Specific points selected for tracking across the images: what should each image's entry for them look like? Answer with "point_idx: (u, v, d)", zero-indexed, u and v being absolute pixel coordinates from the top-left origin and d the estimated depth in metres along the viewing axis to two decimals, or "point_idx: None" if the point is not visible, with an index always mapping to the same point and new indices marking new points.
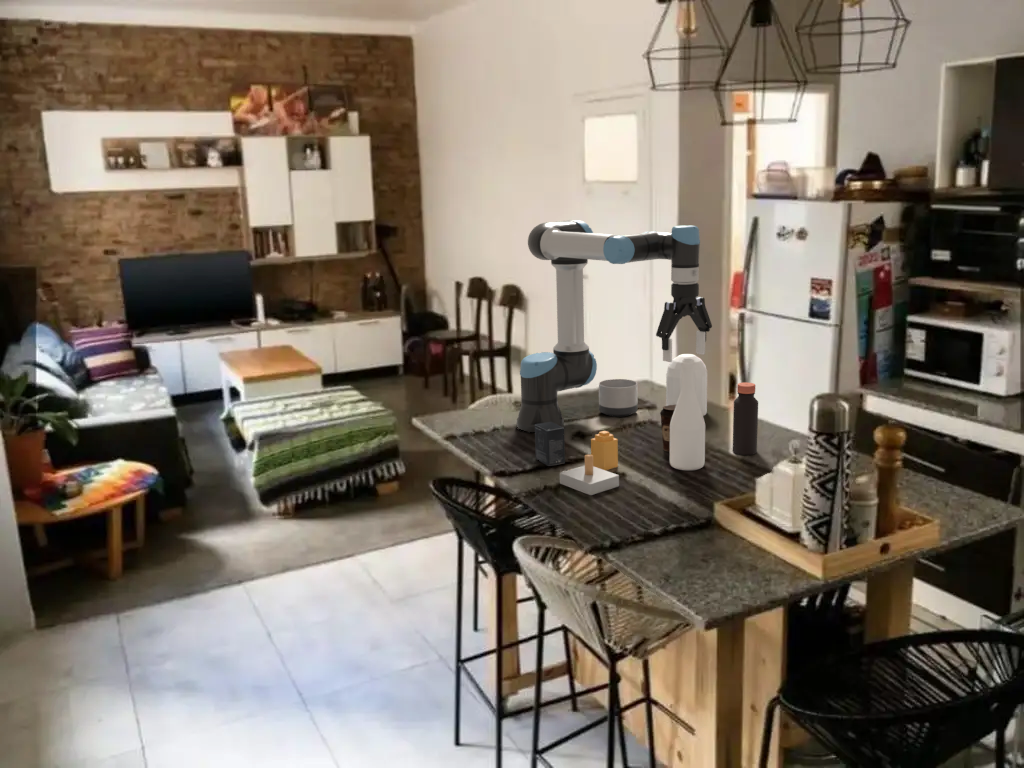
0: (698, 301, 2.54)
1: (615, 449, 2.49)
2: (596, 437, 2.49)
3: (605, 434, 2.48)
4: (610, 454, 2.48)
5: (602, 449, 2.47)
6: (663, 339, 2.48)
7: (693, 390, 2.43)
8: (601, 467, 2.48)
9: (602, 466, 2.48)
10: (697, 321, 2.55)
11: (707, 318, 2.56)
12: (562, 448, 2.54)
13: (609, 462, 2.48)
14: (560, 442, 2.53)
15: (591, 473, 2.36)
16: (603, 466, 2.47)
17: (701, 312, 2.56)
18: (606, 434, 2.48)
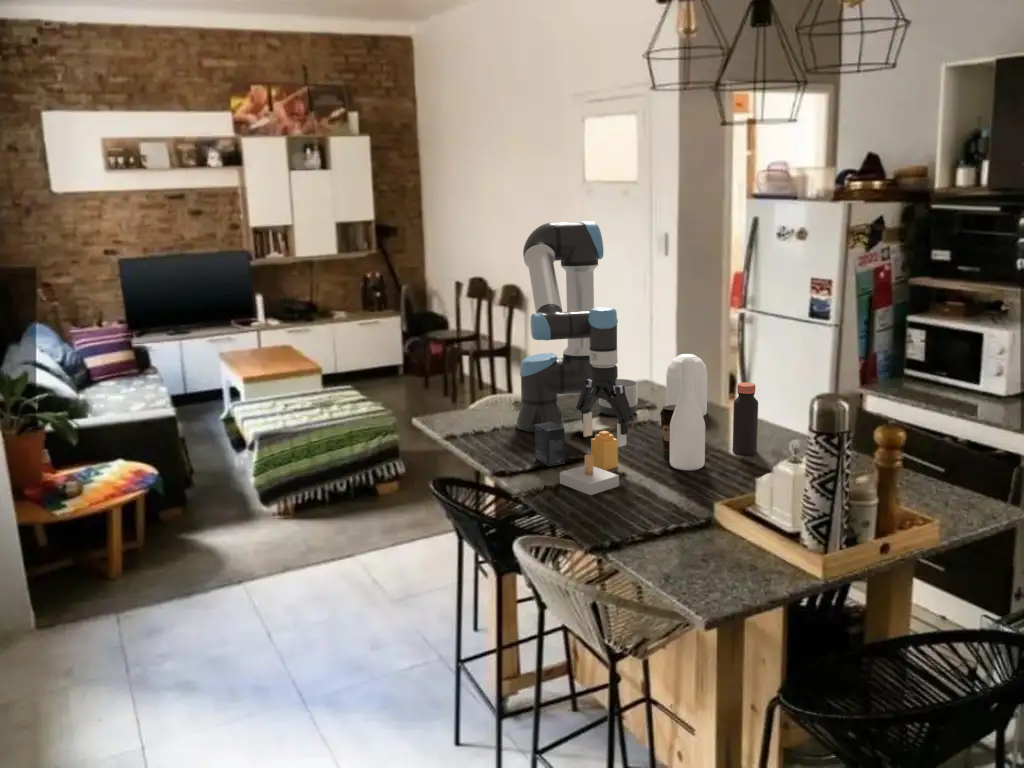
0: None
1: (615, 449, 2.49)
2: (596, 437, 2.49)
3: (605, 434, 2.48)
4: (610, 454, 2.48)
5: (602, 449, 2.47)
6: None
7: (693, 390, 2.43)
8: (601, 467, 2.48)
9: (602, 466, 2.48)
10: None
11: (621, 410, 2.40)
12: (562, 448, 2.54)
13: (609, 462, 2.48)
14: (560, 442, 2.53)
15: (591, 473, 2.36)
16: (603, 466, 2.47)
17: None
18: (606, 434, 2.48)
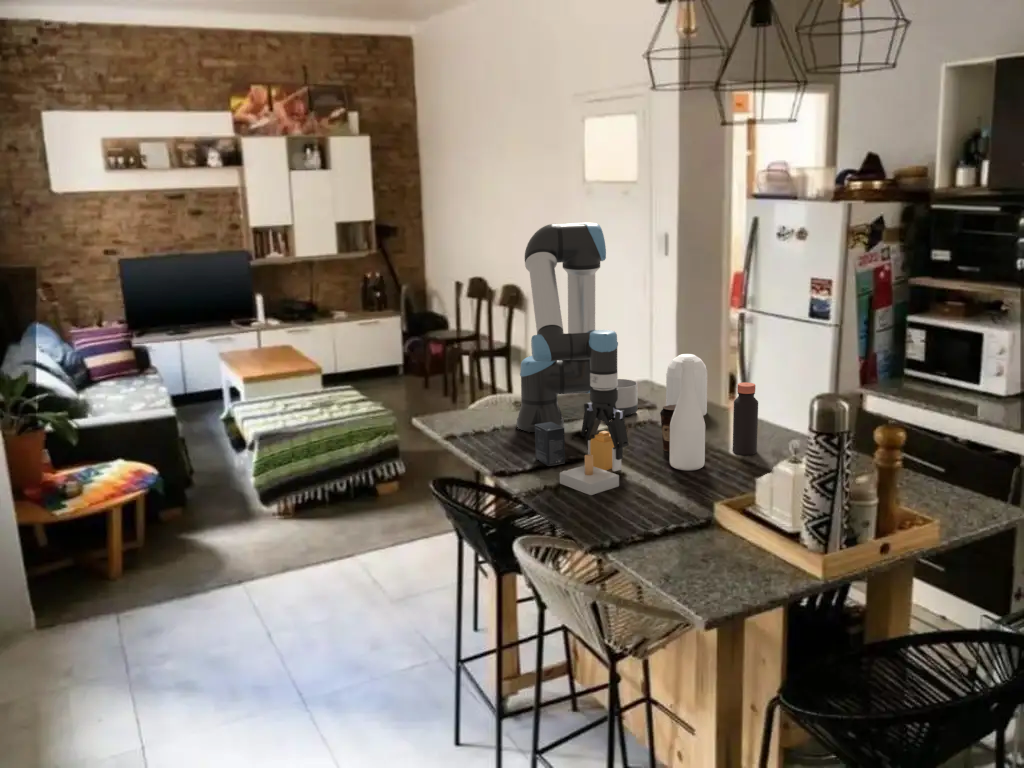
0: None
1: None
2: (596, 437, 2.49)
3: (605, 434, 2.48)
4: (610, 454, 2.48)
5: (602, 449, 2.47)
6: None
7: (693, 390, 2.43)
8: (601, 467, 2.48)
9: (602, 466, 2.48)
10: None
11: (618, 435, 2.43)
12: (562, 448, 2.54)
13: (609, 462, 2.48)
14: (560, 442, 2.53)
15: (591, 473, 2.36)
16: (603, 466, 2.47)
17: None
18: (606, 434, 2.48)
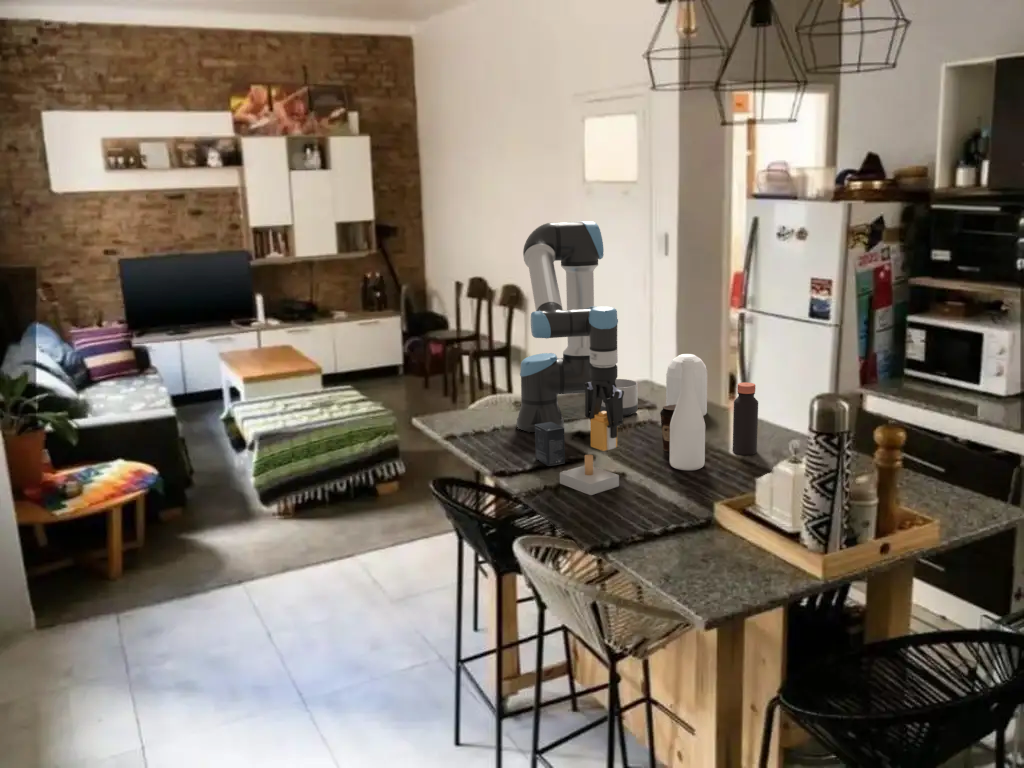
0: (614, 392, 2.42)
1: None
2: (596, 417, 2.48)
3: (605, 414, 2.47)
4: None
5: (602, 429, 2.46)
6: None
7: (693, 390, 2.43)
8: (600, 447, 2.48)
9: (601, 446, 2.47)
10: None
11: (614, 414, 2.43)
12: (562, 448, 2.54)
13: None
14: (560, 442, 2.53)
15: (591, 473, 2.36)
16: (603, 446, 2.47)
17: None
18: (606, 414, 2.47)
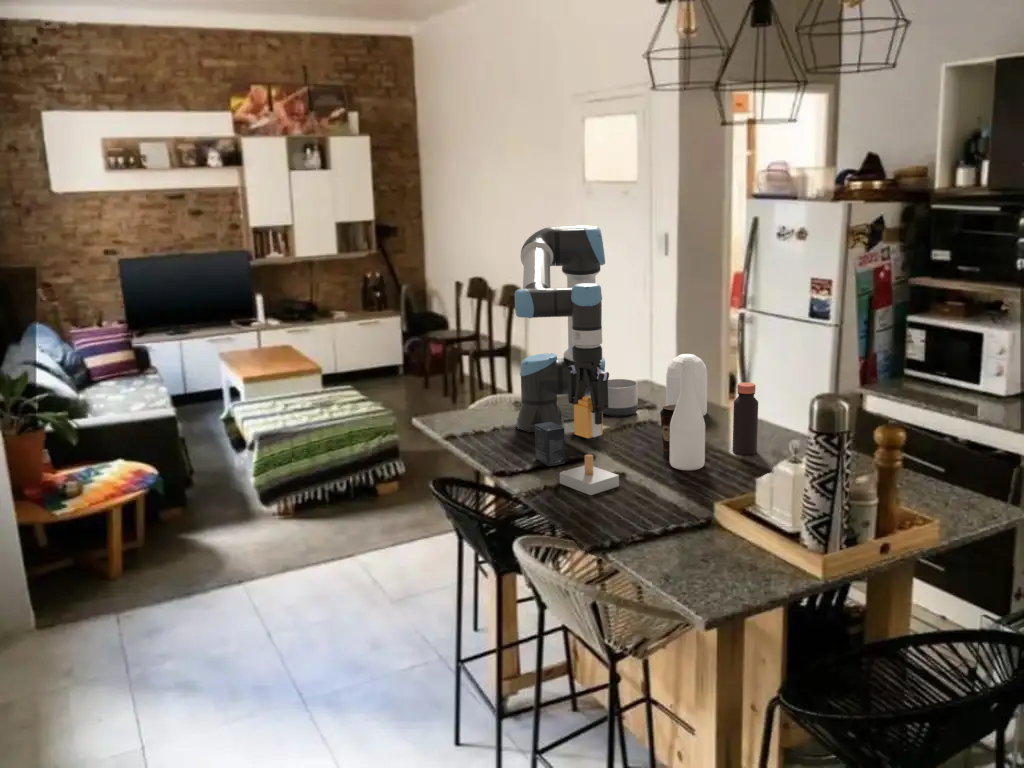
0: (599, 374, 2.26)
1: None
2: (579, 402, 2.32)
3: (589, 399, 2.31)
4: None
5: (586, 415, 2.29)
6: None
7: (693, 390, 2.43)
8: (585, 434, 2.31)
9: (586, 433, 2.31)
10: None
11: (599, 398, 2.27)
12: (562, 448, 2.54)
13: None
14: (560, 442, 2.53)
15: (591, 473, 2.36)
16: (587, 433, 2.30)
17: None
18: (590, 399, 2.31)
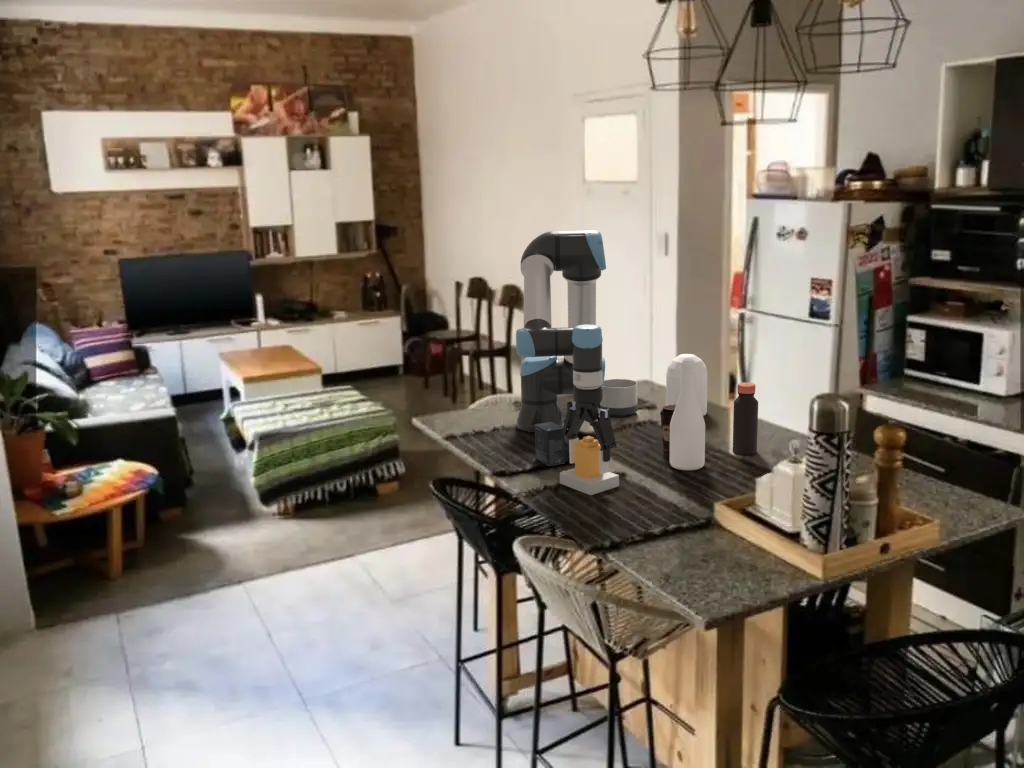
0: (600, 413, 2.28)
1: None
2: (580, 443, 2.35)
3: (589, 439, 2.33)
4: (595, 461, 2.34)
5: (586, 455, 2.32)
6: None
7: (693, 390, 2.43)
8: (585, 475, 2.34)
9: (586, 473, 2.33)
10: None
11: (604, 436, 2.27)
12: (562, 448, 2.54)
13: (594, 469, 2.34)
14: (560, 442, 2.53)
15: None
16: (588, 474, 2.33)
17: None
18: (590, 439, 2.34)
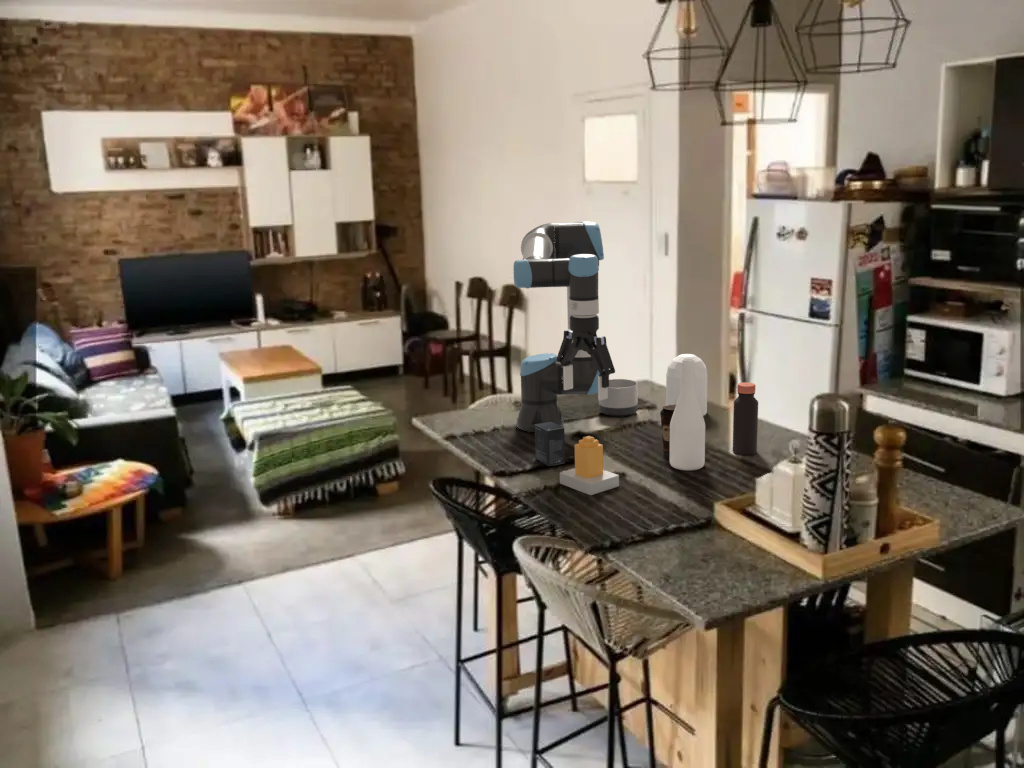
0: None
1: (600, 455, 2.34)
2: (580, 443, 2.35)
3: (589, 439, 2.33)
4: (595, 461, 2.34)
5: (586, 455, 2.32)
6: None
7: (693, 390, 2.43)
8: (585, 475, 2.34)
9: (586, 473, 2.33)
10: None
11: (602, 362, 2.30)
12: (562, 448, 2.54)
13: (594, 469, 2.34)
14: (560, 442, 2.53)
15: None
16: (588, 474, 2.33)
17: None
18: (590, 439, 2.34)
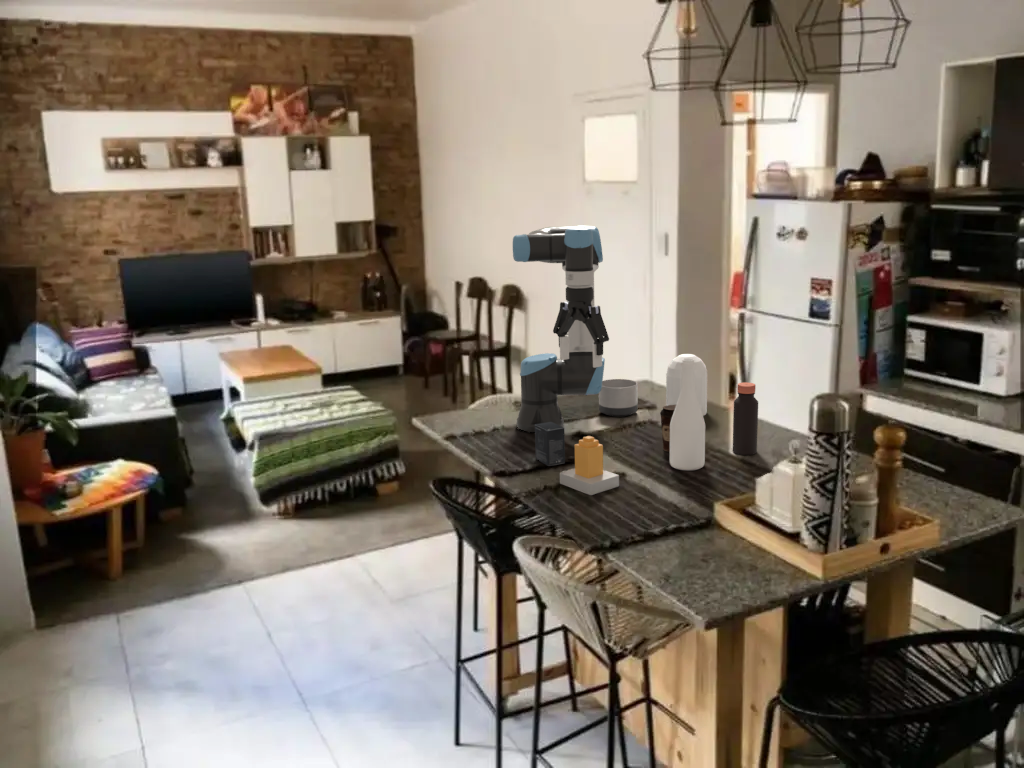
0: (591, 309, 2.41)
1: (600, 455, 2.34)
2: (580, 443, 2.35)
3: (589, 439, 2.33)
4: (595, 461, 2.34)
5: (586, 455, 2.32)
6: None
7: (693, 390, 2.43)
8: (585, 475, 2.34)
9: (586, 473, 2.33)
10: None
11: (597, 330, 2.39)
12: (562, 448, 2.54)
13: (594, 469, 2.34)
14: (560, 442, 2.53)
15: None
16: (588, 474, 2.33)
17: None
18: (590, 439, 2.34)
